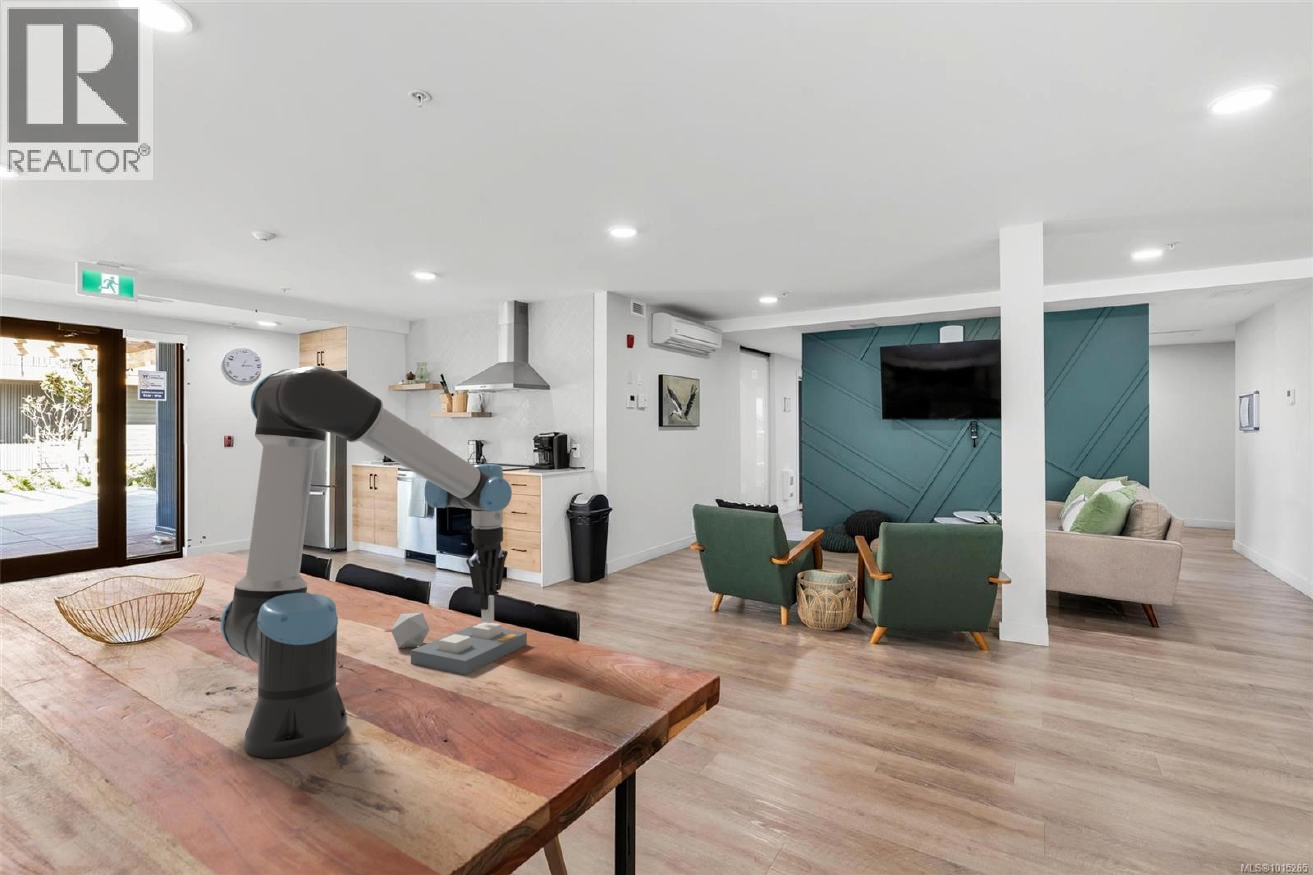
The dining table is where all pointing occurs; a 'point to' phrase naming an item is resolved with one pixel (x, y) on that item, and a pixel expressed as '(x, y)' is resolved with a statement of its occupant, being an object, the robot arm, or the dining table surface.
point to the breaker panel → (469, 651)
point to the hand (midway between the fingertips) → (487, 621)
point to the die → (410, 630)
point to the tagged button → (486, 630)
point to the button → (455, 643)
